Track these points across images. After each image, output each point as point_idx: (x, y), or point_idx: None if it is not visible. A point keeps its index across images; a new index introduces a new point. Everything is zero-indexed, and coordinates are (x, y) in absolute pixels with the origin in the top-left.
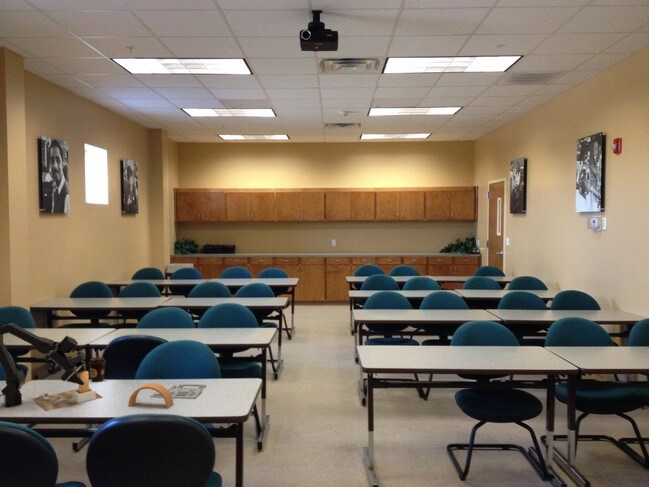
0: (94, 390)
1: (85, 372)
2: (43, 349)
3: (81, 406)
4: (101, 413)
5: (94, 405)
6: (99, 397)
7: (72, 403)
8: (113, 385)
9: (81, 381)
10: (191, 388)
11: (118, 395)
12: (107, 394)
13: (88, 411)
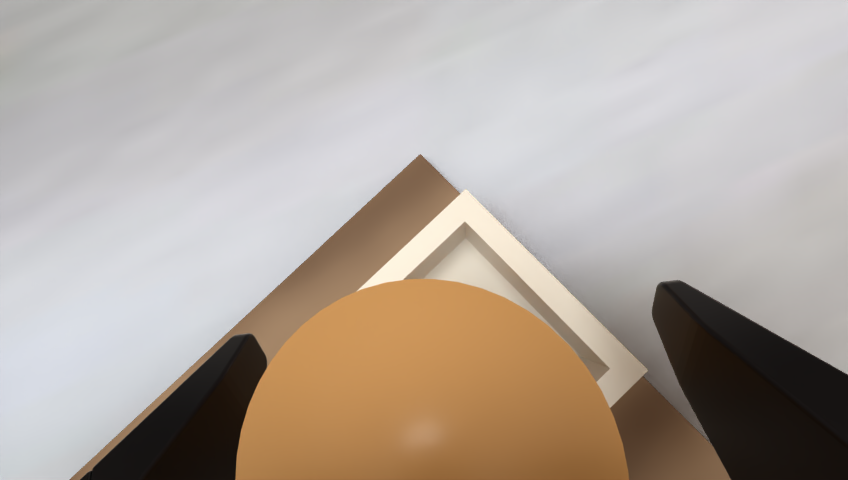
0: (447, 211)
1: (455, 366)
2: None
3: (636, 300)
4: (820, 9)
5: (599, 175)
6: (420, 193)
7: (625, 423)
8: (7, 238)
9: (756, 332)
10: None
11: (310, 66)
12: (273, 184)
13: (780, 158)
